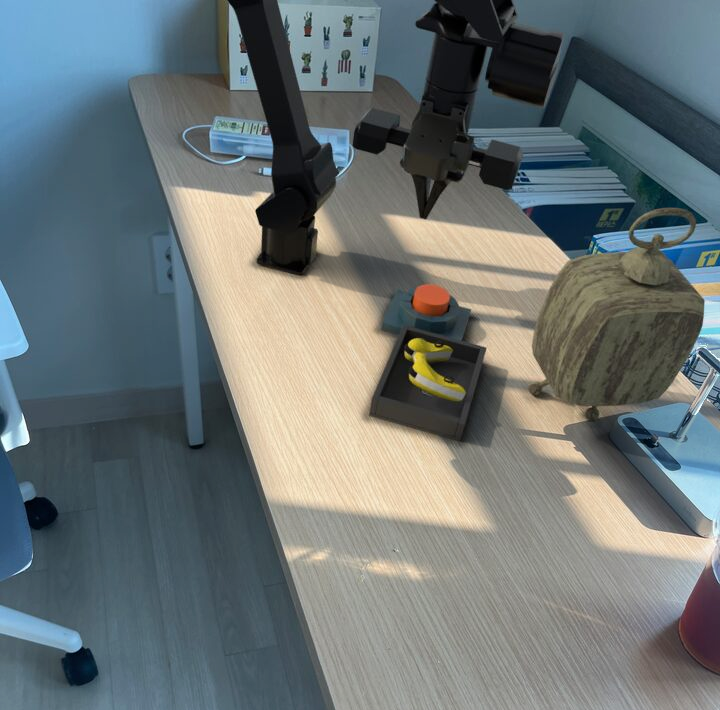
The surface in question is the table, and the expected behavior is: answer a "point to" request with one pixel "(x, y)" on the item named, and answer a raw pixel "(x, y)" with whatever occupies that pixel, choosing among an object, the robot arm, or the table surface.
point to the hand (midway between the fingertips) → (423, 217)
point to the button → (431, 300)
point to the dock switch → (425, 317)
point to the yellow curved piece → (431, 370)
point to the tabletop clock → (618, 324)
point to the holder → (407, 401)
